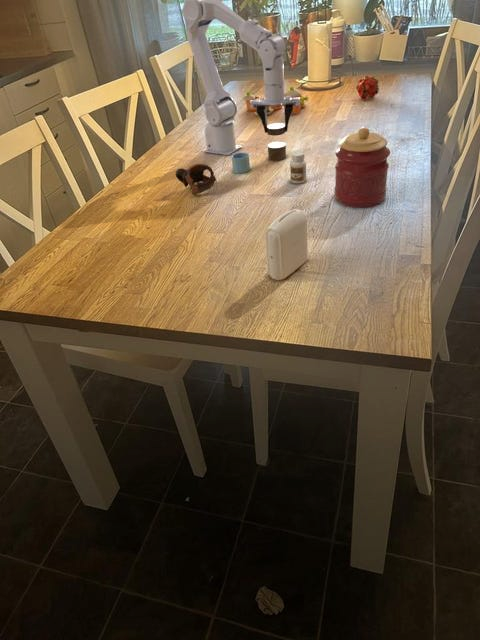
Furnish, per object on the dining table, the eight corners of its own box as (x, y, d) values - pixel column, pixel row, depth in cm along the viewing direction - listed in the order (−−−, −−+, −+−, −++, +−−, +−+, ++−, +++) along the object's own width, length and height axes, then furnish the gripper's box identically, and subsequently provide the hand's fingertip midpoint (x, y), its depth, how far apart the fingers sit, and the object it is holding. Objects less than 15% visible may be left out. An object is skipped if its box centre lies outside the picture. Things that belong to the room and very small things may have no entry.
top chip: (263, 134, 151) (263, 128, 150) (273, 129, 155) (272, 122, 153) (279, 136, 148) (279, 129, 147) (288, 130, 152) (288, 124, 151)
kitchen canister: (355, 213, 121) (359, 140, 110) (324, 195, 131) (325, 127, 120) (396, 199, 125) (404, 127, 115) (363, 183, 135) (368, 116, 124)
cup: (230, 172, 150) (228, 157, 147) (239, 166, 153) (237, 151, 151) (244, 174, 148) (242, 159, 145) (253, 168, 151) (252, 153, 148)
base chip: (265, 159, 156) (264, 153, 155) (274, 153, 159) (273, 147, 158) (280, 161, 153) (280, 155, 152) (289, 155, 157) (289, 149, 155)
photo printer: (282, 283, 100) (279, 227, 92) (265, 276, 102) (261, 222, 95) (310, 260, 106) (310, 206, 98) (294, 255, 108) (292, 202, 101)
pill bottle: (288, 183, 139) (288, 156, 135) (292, 177, 142) (292, 150, 138) (304, 184, 138) (303, 156, 133) (307, 178, 141) (307, 151, 136)
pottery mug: (219, 183, 145) (220, 164, 138) (210, 208, 142) (210, 190, 134) (180, 173, 146) (178, 153, 138) (170, 198, 142) (168, 180, 134)
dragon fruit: (370, 97, 206) (366, 110, 199) (354, 85, 205) (349, 97, 197) (384, 80, 200) (380, 92, 192) (367, 67, 198) (362, 79, 191)
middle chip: (264, 153, 155) (264, 146, 153) (273, 147, 158) (273, 141, 157) (280, 155, 152) (280, 148, 151) (289, 149, 155) (288, 142, 154)
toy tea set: (308, 103, 201) (308, 78, 195) (307, 114, 189) (306, 87, 183) (245, 107, 206) (243, 82, 200) (239, 118, 194) (237, 91, 188)
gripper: (247, 88, 141) (251, 136, 149) (298, 85, 139) (299, 134, 147) (250, 82, 147) (253, 129, 155) (299, 79, 144) (300, 127, 152)
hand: (276, 131), depth 151 cm, fingers closed on top chip, 5 cm apart
